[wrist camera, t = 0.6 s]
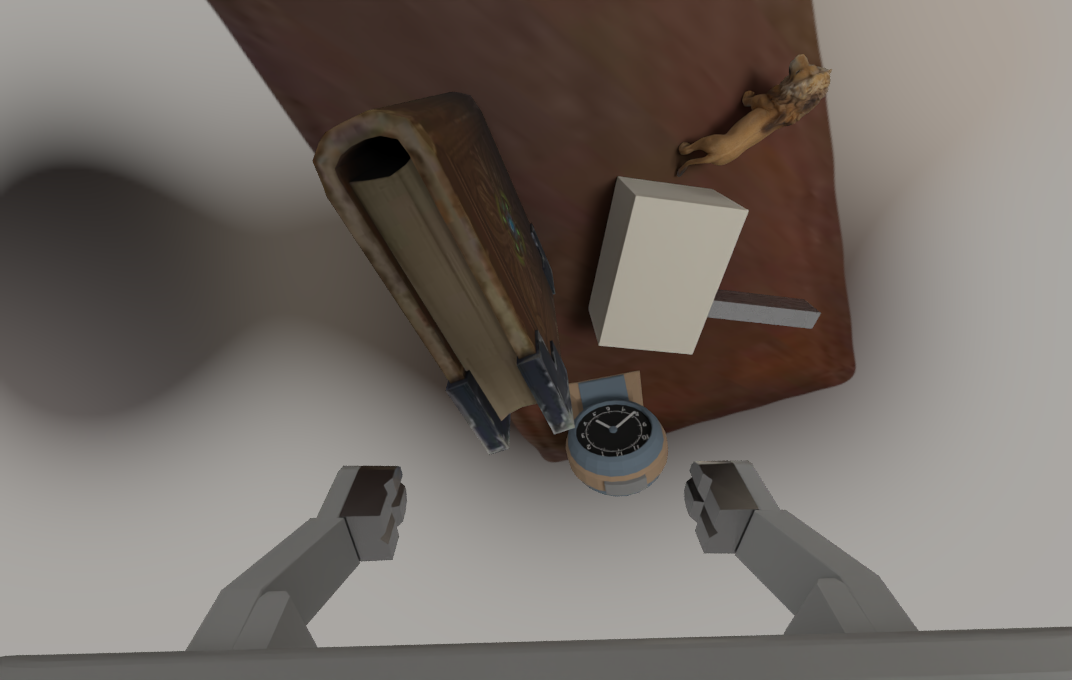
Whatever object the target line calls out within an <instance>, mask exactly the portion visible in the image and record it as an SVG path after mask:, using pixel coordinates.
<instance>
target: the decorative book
mask: <svg viewBox="0 0 1072 680" xmlns="http://www.w3.org/2000/svg"><path fill="white" fill-rule="evenodd" d="M313 163H314V166H315V168H316V171H317V173H318V175H319V178H320V180H321V182H322V185H323V187H324V190H325V193H326V196H327V198H328V199H329V201H330V202H331V204H332V205H333V207H334V208H335V210H336V211H337V213H338V214H339V216H340V217H341V219H342V220H343V222H344V224H345V225H346V227H347V228H348V229H349V231H350V232H351V234H352V236H353V237H354V239H355V240H356V242H357V243H358V245H359V246H360V248H361V249H362V251H363V252H364V254H365V255H366V257H367V258H368V260H369V261H370V263H371V264H372V266H373V267H374V269H375V270H376V272H377V273H378V275H379V276H380V278H381V279H382V281H383V282H384V284H385V285H386V287H387V288H388V290H389V291H390V293H391V294H392V296H393V297H394V299H395V300H396V302H397V303H398V305H399V307H400V308H401V310H402V311H403V313H404V314H405V316H406V317H407V318H408V320H409V322H410V323H411V325H412V326H413V328H414V329H415V331H416V332H417V334H418V335H419V336H420V338H421V340H422V341H423V343H424V344H425V346H426V347H427V349H428V350H429V352H430V353H431V355H432V356H433V358H434V359H435V361H436V362H437V364H438V365H439V367H440V368H441V370H442V371H443V373H444V374H445V376H446V377H447V379H448V384H447V387H446V392H447V393H448V395H449V396H450V398H451V399H452V401H453V402H454V404H455V405H456V407H457V408H458V410H459V411H460V412H461V414H462V415H463V417H464V418H465V420H466V421H467V423H468V424H469V426H470V427H471V429H472V430H473V431H474V433H475V434H476V436H477V437H478V439H479V440H480V442H481V443H482V445H483V446H484V447H485V449H486V450H487V452H488V453H489V455H490V454H494V453H497V452H500V451H503V450H506V449H509V437H510V413H511V412H513V411H515V410H517V409H519V408H521V407H523V406H528V405H532V404H538V405H539V407H540V409H541V411H542V413H543V415H544V416H545V418H546V420H547V422H548V424H549V426H550V427H551V429H552V431H553V433H554V434H557V433H560V432H563V431H566V430H569V429H572V428H575V424H574V418H573V411H572V404H571V397H570V390H569V383H568V377H567V370H566V368H565V366H564V364H563V362H562V360H561V352H560V345H559V337H558V330H557V322H556V315H555V307H554V300H553V294H555V289H554V282H553V276H552V270H551V267H550V265H549V263H548V260H547V258H546V256H545V253H544V251H543V249H542V246H541V244H540V242H539V239H538V237H537V234H536V232H535V230H534V227H533V225H532V223H531V224H530V223H529V221H528V219H527V216H526V214H525V212H524V209H523V207H522V205H521V202H520V200H519V198H518V195H517V193H516V191H515V188H514V186H513V184H512V181H511V179H510V177H509V175H508V172H507V170H506V168H505V165H504V163H503V161H502V158H501V156H500V154H499V151H498V149H497V147H496V144H495V142H494V140H493V137H492V135H491V133H490V130H489V128H488V126H487V123H486V121H485V119H484V116H483V114H482V112H481V110H480V109H479V107H478V106H477V105H476V103H475V102H474V100H473V99H472V97H471V96H470V95H467V94H463V93H458V92H449V93H445V94H440V95H436V96H431V97H427V98H422V99H418V100H413V101H409V102H404V103H400V104H395V105H391V106H386V107H382V108H377V109H373V110H368V111H366V112H363V113H361V114H359V115H357V116H355V117H352V118H351V119H349V120H347V121H345V122H343V123H341V124H339V125H337V126H335V127H334V128H332V129H330V130H329V131H327V132H325V134H324V135H323V137H322V139H321V140H320V142H319V144H318V147H317V150H316V153H315V155H314V158H313Z"/></svg>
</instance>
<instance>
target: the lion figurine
mask: <svg viewBox="0 0 1072 680" xmlns="http://www.w3.org/2000/svg"><path fill="white" fill-rule="evenodd" d="M831 71H832V69H830V70H828V69H826V68H821V67H818V66H817V67H816V66H815V65H810V64H809V63H808V60H807V58H806V57H805V56H804V55H803V54H802V55H798V56H797V57H796V58H795V59H794V60H793V61H792V62H791V63H790V66H789V76H787V77H785V78H784V80H783V81H782V82H781V83H780V84H779V85H776V86H774V87H773V88H772V89H771V90H769V91H768V92H767V93H766V94H760V95H756V96H754V92H752V91H746V92H745V93H744V96H743V100H742V102H743V104H744V106H748V107H749V106H751V109H752V111H751V112H749V113H748V114H747V115H746V116H744V117H743V118H742V119H740V120H739V121H738V122H737V123H736V124H735V125H734V126H733V127H732V128H731V129H730V130H729V132H728V133H727V134H725V135H717V134H715V135H711V136H707V137H704V138H701V139H699V140H698V141H696V142H694V143H693V144H691V145H690V143H687V142H683V143H682V144H681V145H680V146H679V152H680V153H681V154H682V155H686V154H690V153H691V152H693V151H695V150H703V151H704V152H706V153H707V154H708V155H706V157H703V158H696V159H692V160H689V161H687V162H686V163H685V164H684V165H683V166H682V167H681V168H679V170H678V172H677V176H678V177H680V176H681V175H682V174H683V173H684V172H685V171H686V169H687V167H688V166H689V165H691V164H703V163H713V164H715V165H718V166H719V165H724V164H727V163H729V162H731V161H732V160H734V159H736V158H737V157H739V156H740V155H741V154H742V153H743V152H744V151H745V150H747V149H748V148H750V147H751V146H753V145H755V144H756V143H758V142H760V141H761V140H762V139H764V138H765V137H766V136H768V135H769V134H771V133H772V132H773V131H775V130H776V129H779V128H781V127H783V126H789V125H792V124H794V123H795V122H796V121H799V120H800V119H801V117H803V116H804V115H805V114H807V113H808V112H810V111H811V110H812V109H813V108H814V107H815V105H817V104H818V103H819V102H820V100H821V99H822V98H823V97H824V96H825V95H826V93H827V92H828V86H829V84H830V75H829V74H830V73H831Z"/></svg>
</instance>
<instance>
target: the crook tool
mask: <svg viewBox="0 0 1072 680" xmlns="http://www.w3.org/2000/svg"><path fill="white" fill-rule="evenodd" d="M820 313H821V312H819V311H818V310H817V309H816V308H814V307H813V306H812V305H810V304H809V303H808V302H807V301H805V300H804V299H796V298H787V297H779V296H770V295H762V294H753V293H745V292H736V291H728V290H719V289H718V290H717V293H716V295H715V298H714V300H713V303H712V305H711V308H710V311H709V313H708V316H707V317H711V318H720V319H729V320H738V321H747V322H756V323H765V324H775V325H784V326H793V327H802V328H811V329H812V328H813V326H814V324H815V322H816V321H817V319H818V317H819V315H820Z"/></svg>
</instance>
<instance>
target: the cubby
mask: <svg viewBox="0 0 1072 680" xmlns="http://www.w3.org/2000/svg"><path fill="white" fill-rule="evenodd" d="M748 211H749V210H747V209H745V208H744V207H742V206H740V205H739V204H737V203H735V202H733V201H732V200H730V199H728V198H727V197H725V196H723V195H722V194H720V193H718V192H716V191H715V190H713V189H707V188H700V187H692V186H685V185H678V184H670V183H663V182H655V181H648V180H641V179H633V178H626V177H618V176H617V181H616V185H615V190H614V194H613V199H612V203H611V208H610V212H609V217H608V221H607V226H606V230H605V235H604V240H603V244H602V249H601V253H600V258H599V262H598V267H597V271H596V276H595V280H594V285H593V289H592V294H591V298H590V303H589V307H588V310H589V313H590V317H591V320H592V324H593V327H594V330H595V334H596V337H597V341H598V344H599V346H610V347H620V348H630V349H641V350H651V351H661V352H672V353H682V354H693V351H694V349H695V346H696V344H697V341H698V339H699V336H700V334H701V331H702V328H703V326H704V323H705V321H706V318H707V316H708V313H709V311H710V308H711V305H712V303H713V300H714V298H715V295H716V293H717V290H718V288H719V285H720V283H721V280H722V277H723V275H724V272H725V270H726V267H727V265H728V262H729V260H730V257H731V255H732V252H733V249H734V247H735V244H736V242H737V239H738V237H739V234H740V232H741V229H742V227H743V224H744V221H745V219H746V216H747V214H748Z"/></svg>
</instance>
